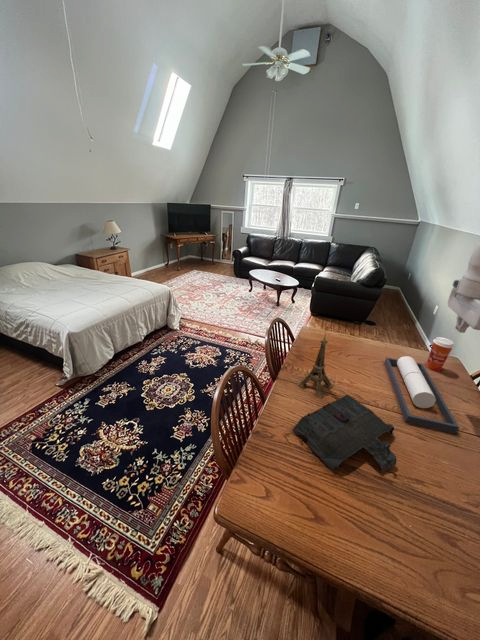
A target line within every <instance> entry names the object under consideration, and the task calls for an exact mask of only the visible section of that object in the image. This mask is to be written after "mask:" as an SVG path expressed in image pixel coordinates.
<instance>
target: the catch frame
mask: <svg viewBox="0 0 480 640" xmlns="http://www.w3.org/2000/svg"><path fill="white" fill-rule="evenodd" d="M398 359H399V358H391V357H385V359H384V366H385V368H386V372H387V374H388V377H389V379H390V383H391V385H392V388H393V389H392V390H393V391H394V395H395V398H396V400H397V404H398V406H399V409H400V411H401V414H402V417H403V419H404V423H406V424H410V425H414V426H418V427H423V428H427V429H432V430H437V431H441V432H445V433H450V434H454V435H456V434H457V432H458V430H459V428H460V426H459V425H458V423H457V421H456V419H455V418H454V416H453V414H452V413H451V410H450V409H449V407H448V405H447V404H446V401H444V398H443V397H442V395H441V393H440V392H439V390H438V388H437V386H436V385H435V383H434V381H433V379H432V377H431V376H430V375H429V372H428V371H427V369H426V367H425V366H424V364H423V363H419V362H416V364H417V365H418V367H419V369H420V371H421V373H422V374H423V376H424V378H425V380H426V382H427V384H428V385H429V387H430V389H431V391H432V393H433V394H434V396H435V398H436V402H435V404H436V405H437V407H438V409H439V411H440V413H441V415H442V417H443V419H444V420H445V421H441V420H437V419H432V418H427V417H422V416H418V415H413V414H411V413H410V410H409V408H408V404H407V402H406V399H405V397H404V395H403V392H402V389H401V386H400V384H399V382H398V379H397V376H396V373H395V371H394V369H393V366H394V367H398V366H397V361H398Z"/></svg>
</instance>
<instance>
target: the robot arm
mask: <svg viewBox="0 0 480 640" xmlns="http://www.w3.org/2000/svg"><path fill="white" fill-rule="evenodd" d="M467 263H468V265H467V269H466V271H465V272H464V274H463V275H462V278H461V279H454V280H453V281H452V288H451V290H450V293H449V296H448V299H447V307H448V308H450V310H452V311H453V312H454V313H455V314H456V324H455V326H454V329H455V330H456V331H457V332H458V333H461V334H464V333H465V334H466V331H467V330H468V328H469V327H470V328H472V329H473V330H476V331H480V239H479V240H478V241H477V243H476V245H475V247H474V249H473V251H472V253H471V255H470V258H469V260H468V262H467Z"/></svg>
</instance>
